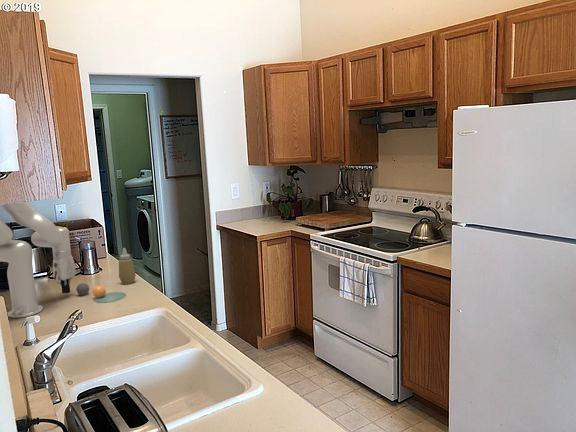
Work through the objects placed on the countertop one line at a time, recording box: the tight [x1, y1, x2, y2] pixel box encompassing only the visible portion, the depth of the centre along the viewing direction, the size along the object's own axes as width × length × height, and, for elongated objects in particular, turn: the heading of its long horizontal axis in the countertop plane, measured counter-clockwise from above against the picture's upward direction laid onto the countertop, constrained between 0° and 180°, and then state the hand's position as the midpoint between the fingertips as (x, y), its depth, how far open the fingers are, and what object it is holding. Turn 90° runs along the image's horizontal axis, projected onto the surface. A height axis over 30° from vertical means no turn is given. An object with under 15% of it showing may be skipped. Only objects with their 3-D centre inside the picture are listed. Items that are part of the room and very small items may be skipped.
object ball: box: [92, 285, 107, 298], centre depth 217 cm, size 6×6×6 cm
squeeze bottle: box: [118, 247, 136, 285], centre depth 237 cm, size 8×8×18 cm
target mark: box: [93, 291, 127, 304], centre depth 216 cm, size 14×14×1 cm
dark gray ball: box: [76, 282, 90, 296], centre depth 222 cm, size 6×6×6 cm
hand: (66, 292), depth 220 cm, fingers closed
